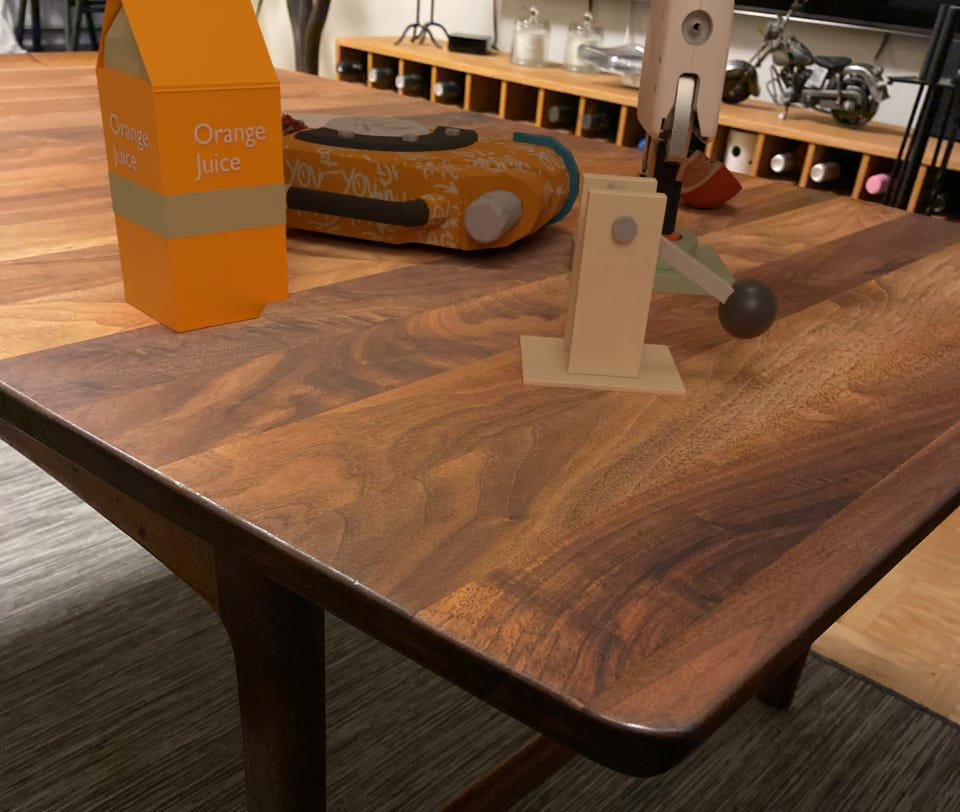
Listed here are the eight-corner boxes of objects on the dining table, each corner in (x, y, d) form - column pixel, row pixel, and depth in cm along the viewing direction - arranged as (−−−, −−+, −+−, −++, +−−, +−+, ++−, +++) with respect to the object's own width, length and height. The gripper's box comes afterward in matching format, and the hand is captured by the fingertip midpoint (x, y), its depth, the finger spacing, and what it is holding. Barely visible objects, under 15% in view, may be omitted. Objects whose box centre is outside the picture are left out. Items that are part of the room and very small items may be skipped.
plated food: (422, 197, 104) (423, 160, 102) (140, 165, 107) (136, 129, 105) (473, 145, 128) (475, 115, 126) (243, 121, 131) (241, 91, 129)
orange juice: (290, 311, 73) (278, -22, 62) (177, 333, 68) (140, -25, 57) (233, 282, 78) (211, -33, 66) (123, 300, 73) (78, -38, 61)
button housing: (707, 271, 89) (716, 223, 87) (729, 308, 81) (740, 256, 79) (569, 261, 89) (575, 212, 86) (577, 297, 80) (584, 244, 78)
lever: (744, 338, 67) (782, 291, 65) (756, 358, 64) (796, 310, 62) (579, 222, 63) (615, 169, 61) (584, 238, 60) (622, 182, 58)
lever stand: (664, 362, 70) (697, 176, 63) (683, 409, 63) (721, 207, 57) (518, 352, 70) (535, 164, 63) (521, 398, 63) (541, 193, 56)
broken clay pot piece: (662, 195, 112) (670, 146, 109) (720, 198, 113) (730, 148, 110) (685, 215, 106) (694, 162, 103) (747, 217, 107) (758, 165, 104)
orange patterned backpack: (524, 181, 75) (160, 129, 81) (513, 294, 80) (171, 237, 86) (590, 133, 93) (287, 94, 99) (578, 229, 98) (290, 185, 104)
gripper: (774, -34, 66) (715, 261, 76) (729, -44, 78) (684, 212, 89) (657, -44, 65) (615, 253, 76) (631, -52, 78) (597, 205, 88)
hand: (652, 230), depth 82 cm, fingers closed
